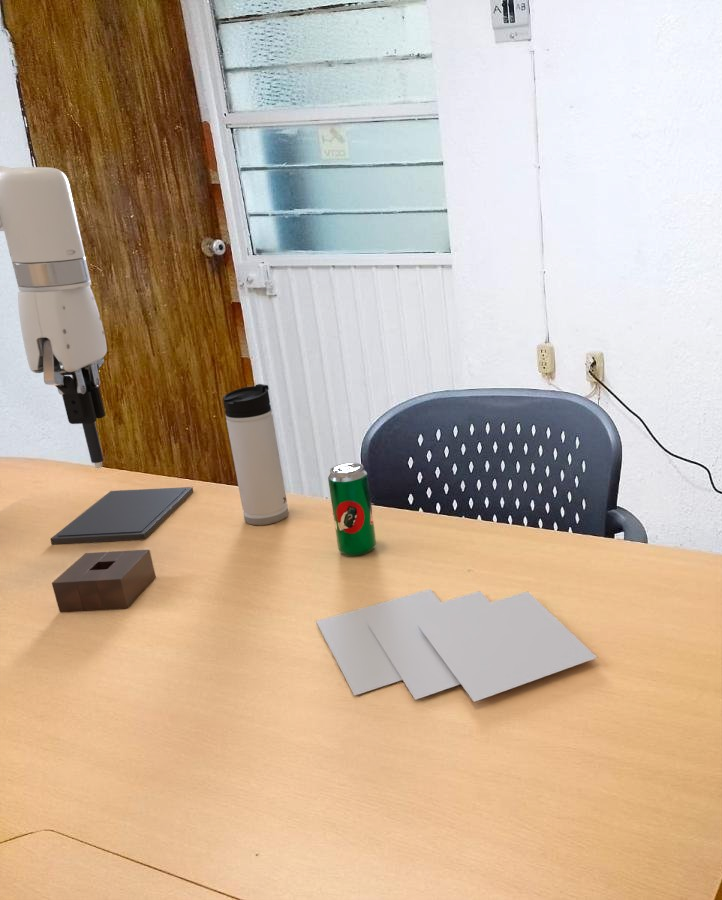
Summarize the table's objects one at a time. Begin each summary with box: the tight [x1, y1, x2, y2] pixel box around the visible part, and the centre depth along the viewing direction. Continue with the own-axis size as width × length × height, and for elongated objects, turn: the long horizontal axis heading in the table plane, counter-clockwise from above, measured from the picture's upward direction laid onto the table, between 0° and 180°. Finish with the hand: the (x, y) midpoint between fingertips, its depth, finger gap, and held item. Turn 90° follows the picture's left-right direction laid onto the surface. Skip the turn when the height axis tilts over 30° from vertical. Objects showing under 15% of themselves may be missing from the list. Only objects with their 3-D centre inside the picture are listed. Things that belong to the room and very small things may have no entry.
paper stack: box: [315, 588, 598, 703], centre depth 92 cm, size 23×25×1 cm
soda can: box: [327, 462, 377, 557], centre depth 112 cm, size 5×5×12 cm
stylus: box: [81, 377, 105, 469], centre depth 106 cm, size 1×1×12 cm
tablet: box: [49, 486, 194, 545], centre depth 127 cm, size 13×18×1 cm
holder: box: [51, 549, 157, 613], centre depth 103 cm, size 8×8×4 cm
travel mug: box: [222, 383, 290, 526], centre depth 122 cm, size 6×7×20 cm
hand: (87, 419), depth 106 cm, fingers closed on stylus, 1 cm apart
